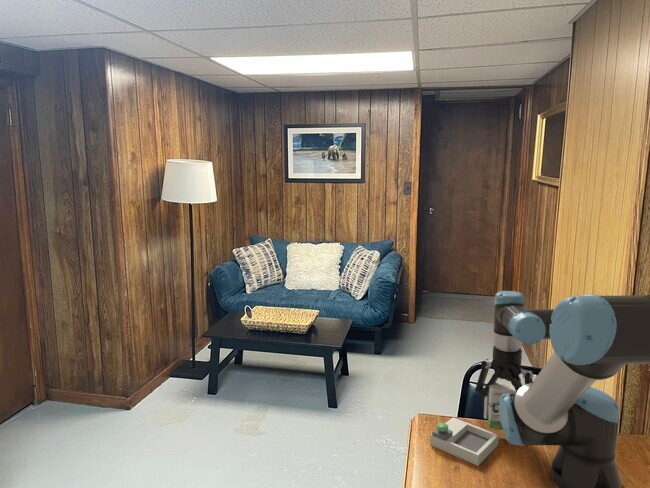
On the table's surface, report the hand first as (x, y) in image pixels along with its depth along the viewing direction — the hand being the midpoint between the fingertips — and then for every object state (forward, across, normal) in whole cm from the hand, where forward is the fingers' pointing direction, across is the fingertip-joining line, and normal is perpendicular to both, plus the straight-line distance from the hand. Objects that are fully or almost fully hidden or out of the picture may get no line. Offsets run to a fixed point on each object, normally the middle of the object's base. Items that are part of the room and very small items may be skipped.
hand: (504, 422), depth 135 cm
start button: (+1, +11, +15) cm, 19 cm away
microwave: (+5, +6, +11) cm, 13 cm away
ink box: (+1, 0, 0) cm, 1 cm away
